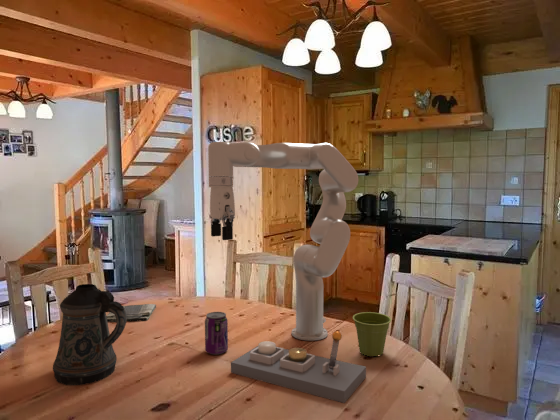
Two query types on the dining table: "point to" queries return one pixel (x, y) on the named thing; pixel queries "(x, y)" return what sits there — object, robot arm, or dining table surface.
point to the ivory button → (266, 347)
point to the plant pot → (371, 332)
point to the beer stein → (87, 336)
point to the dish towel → (135, 313)
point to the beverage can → (216, 333)
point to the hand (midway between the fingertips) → (221, 237)
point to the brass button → (297, 354)
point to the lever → (334, 348)
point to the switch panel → (302, 373)
